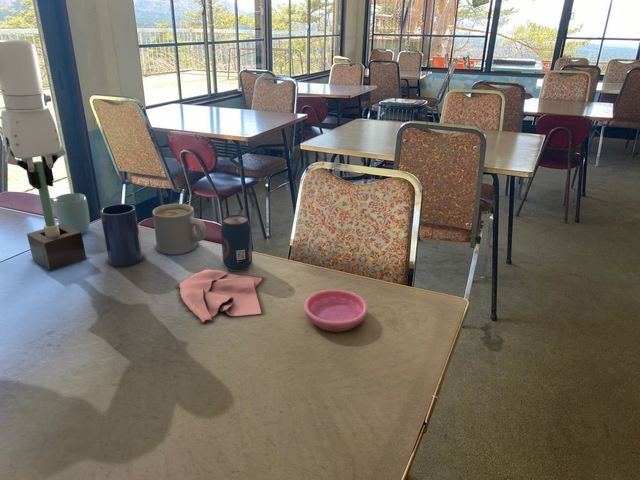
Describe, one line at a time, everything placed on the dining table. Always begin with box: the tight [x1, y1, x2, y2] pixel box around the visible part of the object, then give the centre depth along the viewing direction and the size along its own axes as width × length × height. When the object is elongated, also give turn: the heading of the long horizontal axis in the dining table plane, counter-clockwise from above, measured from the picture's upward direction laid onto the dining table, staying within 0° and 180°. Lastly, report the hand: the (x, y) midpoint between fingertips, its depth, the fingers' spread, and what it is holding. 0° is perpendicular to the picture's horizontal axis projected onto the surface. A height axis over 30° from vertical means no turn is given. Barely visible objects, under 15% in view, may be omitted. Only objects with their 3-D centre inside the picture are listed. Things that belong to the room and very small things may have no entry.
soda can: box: [220, 214, 253, 272], centre depth 113 cm, size 7×7×12 cm
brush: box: [33, 160, 60, 238], centre depth 110 cm, size 3×3×20 cm
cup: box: [52, 192, 91, 234], centre depth 129 cm, size 8×8×10 cm
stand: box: [26, 224, 87, 272], centre depth 115 cm, size 9×9×7 cm
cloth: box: [178, 268, 263, 323], centre depth 101 cm, size 20×22×2 cm
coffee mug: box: [152, 203, 207, 255], centre depth 122 cm, size 13×10×10 cm
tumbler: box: [99, 203, 143, 267], centre depth 114 cm, size 8×8×13 cm
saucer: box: [303, 289, 369, 333], centre depth 94 cm, size 12×12×3 cm
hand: (42, 185), depth 109 cm, fingers closed on brush, 2 cm apart
